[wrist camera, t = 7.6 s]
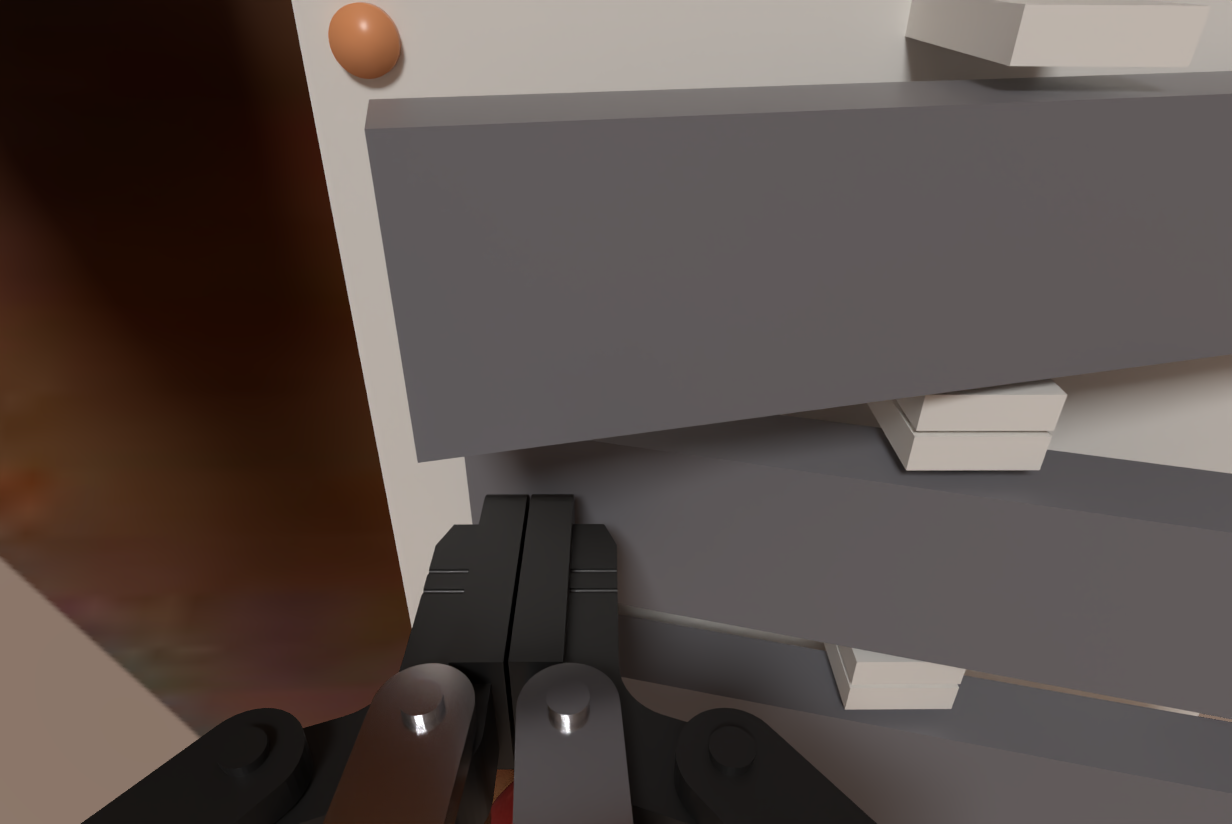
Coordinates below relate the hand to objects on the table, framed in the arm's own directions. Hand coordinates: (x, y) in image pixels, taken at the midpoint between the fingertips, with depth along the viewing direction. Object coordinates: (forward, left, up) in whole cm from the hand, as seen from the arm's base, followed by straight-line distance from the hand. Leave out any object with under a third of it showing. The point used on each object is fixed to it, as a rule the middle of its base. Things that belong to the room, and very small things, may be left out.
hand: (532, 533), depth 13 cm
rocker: (0, +7, 0) cm, 7 cm away
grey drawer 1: (-5, +7, 0) cm, 9 cm away
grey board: (+6, +7, 0) cm, 9 cm away
